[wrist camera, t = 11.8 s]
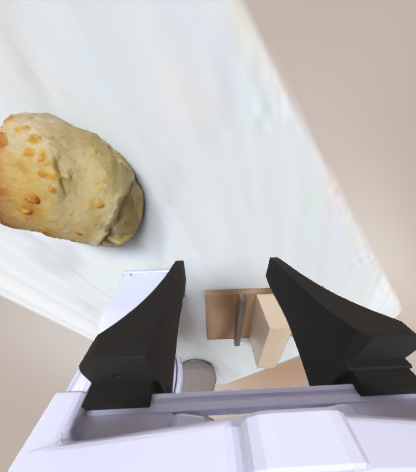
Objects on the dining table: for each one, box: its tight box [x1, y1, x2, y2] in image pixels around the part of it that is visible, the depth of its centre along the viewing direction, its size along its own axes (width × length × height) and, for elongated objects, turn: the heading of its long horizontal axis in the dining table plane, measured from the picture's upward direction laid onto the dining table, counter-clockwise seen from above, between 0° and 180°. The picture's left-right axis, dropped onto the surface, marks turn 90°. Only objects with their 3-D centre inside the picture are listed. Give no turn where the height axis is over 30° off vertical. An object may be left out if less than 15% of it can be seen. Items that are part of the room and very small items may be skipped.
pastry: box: [0, 112, 145, 247], centre depth 14 cm, size 14×12×8 cm
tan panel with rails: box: [206, 286, 324, 346], centre depth 30 cm, size 22×15×2 cm
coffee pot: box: [181, 360, 216, 422], centre depth 34 cm, size 21×12×15 cm, turn 132°
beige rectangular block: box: [249, 294, 291, 368], centre depth 27 cm, size 4×13×6 cm, turn 1°
